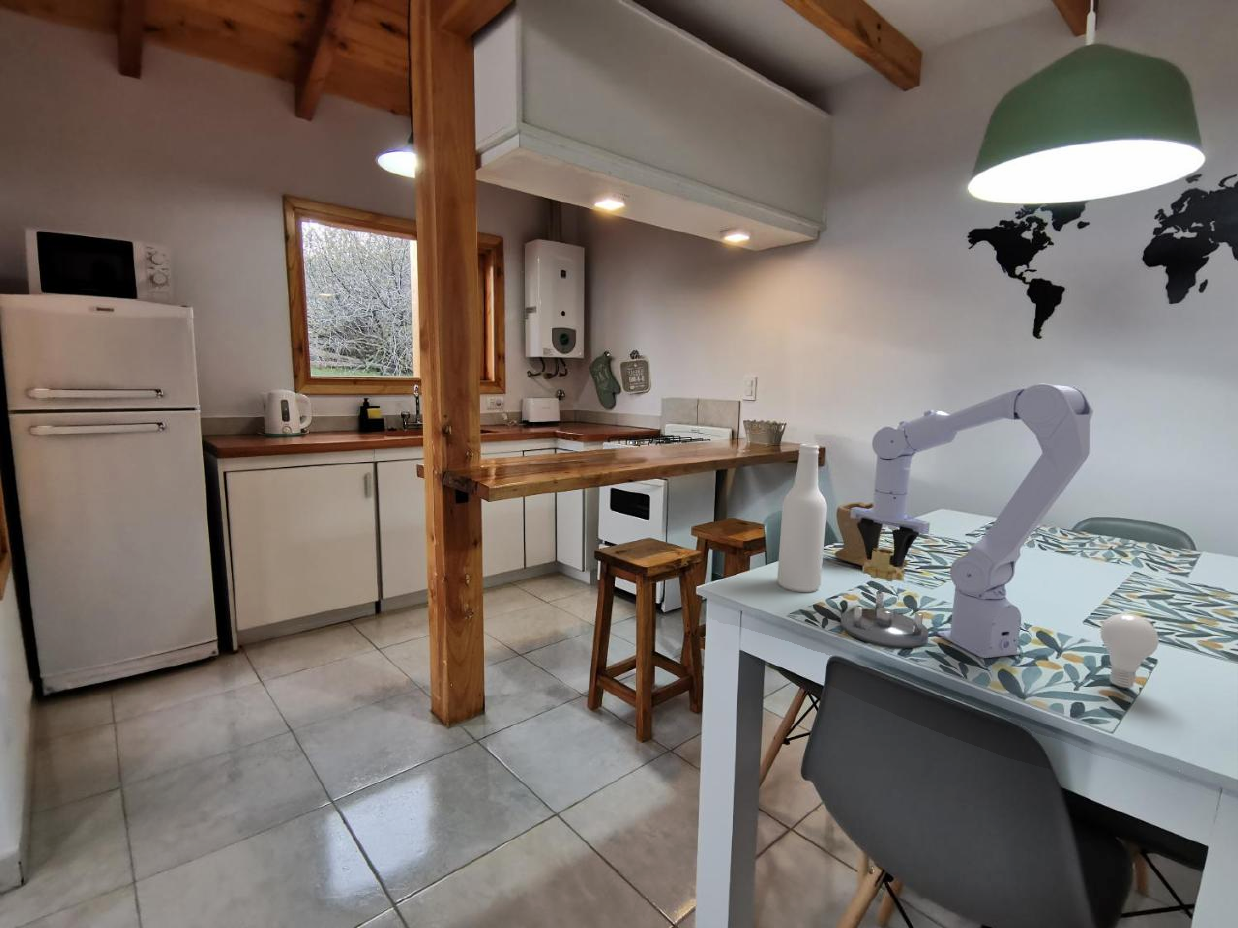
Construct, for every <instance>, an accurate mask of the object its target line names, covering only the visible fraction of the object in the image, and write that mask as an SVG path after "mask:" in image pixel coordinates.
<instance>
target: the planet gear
mask: <svg viewBox="0 0 1238 928" xmlns="http://www.w3.org/2000/svg"><path fill="white" fill-rule="evenodd" d="M893 555H894V549H891V548H887V547H879V548H874V549H873V552H872V560H871V563H867V562H866V563H864V566H862V571H861V572H862V573H863V574H865V575H869V576H870V578H872V579H875V580H876V579H879V580H880V579H881V580H885V581H886V582H893V581H895V580H896V581H904V579H905V572H906V570H905V569H904V568H902V569H899V568H897V567H893Z"/></svg>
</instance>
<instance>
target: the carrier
mask: <svg viewBox="0 0 1238 928" xmlns="http://www.w3.org/2000/svg"><path fill="white" fill-rule="evenodd" d="M884 597H885V596H884V593H881V592H877V593H876V595H875V608H863V606H860V605H855V606H854V609H849V610H847V611H845V612H843V613H842V614H841V616H840V626H841V629H842V630H843V631H844V632H846V633H847V634H849V636H851V637H854V638H855V639H858V640H860V641H863V642H866V643H868V644H872V645H876V646H881V647H887V648H893V649H894V648H895V649H913V648H919V647H922V646H925V645H926V644H927V642H928V640H929V630H928V628H927V626H925V625H924V624H923V619H924V614H923V613H921V612H915V613H914V618H913V617H910V616H907V615H903V614H901V613H897V612H894V611H893V610H891V609H889V608H886V607H883V606H884Z"/></svg>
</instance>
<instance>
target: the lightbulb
mask: <svg viewBox="0 0 1238 928" xmlns="http://www.w3.org/2000/svg"><path fill="white" fill-rule="evenodd" d="M1158 634H1159V633H1158V632H1157V630H1156V628H1155V627H1154V626H1153V625H1152V624H1151V622H1149V621H1148V620H1147V619H1145V618H1143V617H1141V616H1139V615H1136V614H1132V613H1126V612H1125V613H1123V612H1122V613H1117V614H1113V615H1111V616H1110V617H1108V618H1106V619H1105V620H1104V621H1103V622H1102V624H1101V627H1100V639H1101V640H1102V643H1103V645H1104V646H1105V648H1106V650H1107V651H1108V654H1109V663H1110V664H1111V667H1110V671H1111V672H1110V677H1109V681H1110V683H1112V684H1113V685H1114V686H1115V687H1117V688H1119V689H1124V690H1125V689H1130V688H1134V684H1135V678H1136V677H1135V676H1136V672H1137V671H1138V670H1139V669H1140V667H1141V665H1142V663H1143V662H1144V661H1145V660H1146V659H1148V658H1149V657H1151V656H1152V655H1153V653H1155V652H1156V650H1157V648H1158V645H1159V635H1158Z"/></svg>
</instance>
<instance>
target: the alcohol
mask: <svg viewBox="0 0 1238 928" xmlns="http://www.w3.org/2000/svg"><path fill="white" fill-rule="evenodd" d="M798 447H799V449H798V458H797V459H798V460H797V466H796V473H795V480H794V484H793V486H792V489H790V490H789V492H788V493H787V494H786V495H785V496H784V498H783V499H784V500H783V502H782V508H781V509H782V510H781V511H782V512H781V521H780V522H781V523H780V539H779V551H778V552H779V553H778V566H777V578H776V579H777V583H778V584H779V586H780V587H781V588H784V589H785V590H788V591H792V592H796V593H797V592H798V593H813V592H816V591H818V590H819V588H820V586H821V585H822V583H821V582H822V571H823V559H824V551H825V549H824V548H825V547H824V546H825V537H826V536H825V535H826V525H827V524H826V523H827V522H826V521H827V511H828V507H827V501H826V499H825V496H824V495H823V494H822V492H821V491H820V488H819V487H820V486H819V454H820V451H819V449H820V446H819V445H818V444H814V443H813V444H812V443H811V444H810V443H801V444H799V445H798Z"/></svg>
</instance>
